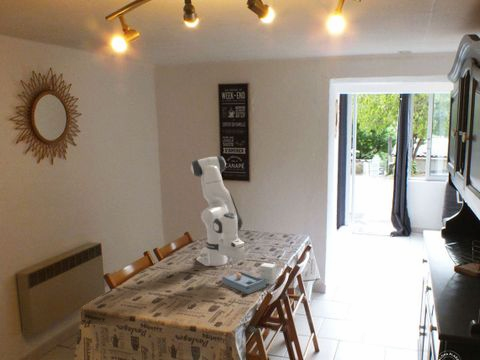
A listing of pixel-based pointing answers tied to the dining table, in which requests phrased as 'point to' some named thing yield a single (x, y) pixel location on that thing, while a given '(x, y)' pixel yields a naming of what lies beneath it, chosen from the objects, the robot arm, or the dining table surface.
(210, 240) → the robot arm
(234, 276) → the blue tray
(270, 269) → the small box
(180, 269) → the dining table surface
